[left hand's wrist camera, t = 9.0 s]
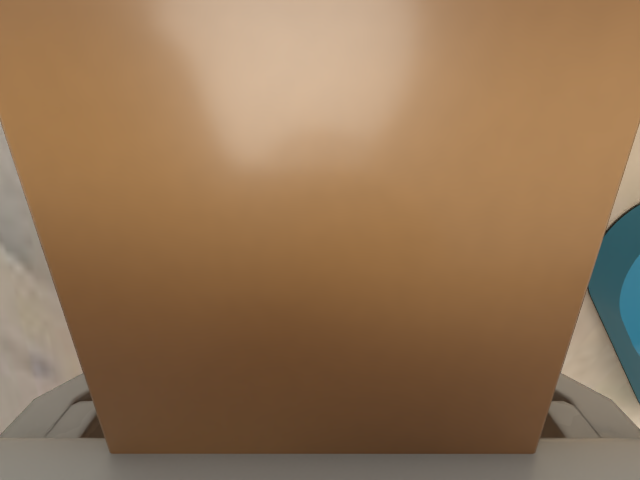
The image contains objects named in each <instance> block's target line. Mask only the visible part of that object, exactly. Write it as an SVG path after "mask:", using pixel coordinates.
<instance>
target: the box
mask: <svg viewBox="0 0 640 480" xmlns="http://www.w3.org/2000/svg"><path fill="white" fill-rule="evenodd" d="M0 122H1V125H2V128H3V131H4V134H5V137H6V140H7V143H8V146H9V149H10V152H11V155H12V158H13V161H14V164H15V167H16V170H17V173H18V176H19V179H20V182H21V185H22V188H23V191H24V194H25V197H26V200H27V203H28V207H29V210H30V213H31V216H32V219H33V222H34V225H35V228H36V231H37V234H38V237H39V240H40V243H41V246H42V249H43V252H44V255H45V258H46V261H47V264H48V267H49V270H50V273H51V276H52V279H53V282H54V285H55V288H56V292H57V295H58V298H59V301H60V304H61V307H62V310H63V313H64V316H65V319H66V322H67V325H68V328H69V331H70V334H71V337H72V340H73V343H74V346H75V349H76V352H77V355H78V358H79V361H80V364H81V367H82V370H83V374H84V377H85V380H86V383H87V386H88V389H89V392H90V395H91V398H92V401H93V404H94V407H95V410H96V413H97V416H98V419H99V422H100V425H101V428H102V431H103V434H104V437H105V440H106V443H107V446H108V449H109V452H110V453H111V454H534V453H535V452H536V449H537V446H538V443H539V440H540V436H541V433H542V430H543V427H544V424H545V421H546V417H547V414H548V411H549V408H550V405H551V402H552V398H553V395H554V392H555V389H556V386H557V383H558V379H559V376H560V373H561V370H562V367H563V364H564V360H565V357H566V354H567V351H568V348H569V345H570V341H571V338H572V335H573V332H574V329H575V326H576V323H577V319H578V316H579V313H580V310H581V307H582V304H583V300H584V297H585V294H586V291H587V288H588V285H589V281H590V278H591V275H592V272H593V269H594V266H595V262H596V259H597V256H598V253H599V250H600V247H601V243H602V240H603V237H604V234H605V231H606V228H607V224H608V221H609V218H610V215H611V212H612V209H613V205H614V202H615V199H616V196H617V193H618V190H619V186H620V183H621V180H622V177H623V174H624V171H625V167H626V164H627V161H628V158H629V155H630V152H631V148H632V145H633V142H634V139H635V136H636V133H637V129H638V126H639V123H640V0H0Z"/></svg>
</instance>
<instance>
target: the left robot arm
mask: <svg viewBox="0 0 640 480" xmlns="http://www.w3.org/2000/svg"><path fill="white" fill-rule="evenodd" d="M0 480H640V429H639V428H638V427H637V426H636V425H635V424H634V423H633V422H632V421H631V420H630V419H629V418H628V416H627V415H626V414H625V413H624V412H623V411H622V410H621V409H620V408H619V407H618V406H617V405H616V404H615V403H614V402H613V401H612V400H611V399H609V398H607V397H605V396H603V395H601V394H599V393H598V392H596V391H594V390H592V389H590V388H588V387H586V386H584V385H583V384H581V383H579V382H577V381H575V380H573V379H571V378H569V377H568V376H566V375H564V374H562V373H560V376H559V379H558V383H557V386H556V389H555V392H554V395H553V398H552V402H551V405H550V408H549V411H548V414H547V417H546V421H545V424H544V427H543V430H542V433H541V436H540V440H539V443H538V446H537V449H536V452H535V453H534V454H111V453H110V452H109V449H108V446H107V443H106V440H105V437H104V434H103V431H102V428H101V425H100V422H99V419H98V416H97V413H96V410H95V407H94V404H93V401H92V398H91V395H90V392H89V389H88V386H87V383H86V380H85V377H84V374H83V373H82V374H81V375H79V376H77V377H75V378H73V379H71V380H69V381H67V382H66V383H64V384H62V385H60V386H58V387H56V388H54V389H53V390H51V391H49V392H47V393H45V394H43V395H41V396H39V397H38V398H36V399H34V400H33V401H32V402H31V403H30V404H29V405H28V406H27V407H26V408H25V409H24V410H23V412H22V413H21V414H20V415H19V416H18V417H17V418H16V419H15V420H14V421H13V422H12V423H11V424H10V425H9V426H8V427H7V428H6V429H5V431H4V432H3V433H2V434H1V435H0Z"/></svg>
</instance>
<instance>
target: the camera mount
mask: <svg viewBox="0 0 640 480" xmlns="http://www.w3.org/2000/svg"><path fill="white" fill-rule="evenodd" d="M588 287H589V292H590V295H591V298H592V300H593V302H594V304H595V307H596V309H597V311H598V313H599V315H600V318H601V320H602V322H603V324H604V326H605V329H606V331H607V333H608V335H609V337H610V340H611V342H612V344H613V346H614V348H615V351H616V353H617V355H618V357H619V359H620V362H621V364H622V366H623V368H624V371H625V373H626V375H627V377H628V379H629V382H630V384H631V386H632V388H633V390H634V393H635V395H636V397H637V399H638V401H639V404H640V205H638V206H637V207H635V208H634V209H632V210H631V211H629V212H628V213H627V214H626V215H624V216H623V217H622V218H621V219H620V220H619V221H617V222H616V223H615V224H614V225H613V226H612V228H611V229H610V230H609V231H608V232H607V233H606V235H605V236H604V237H603V240H602V243H601V247H600V250H599V253H598V256H597V259H596V262H595V266H594V269H593V272H592V275H591V278H590V281H589V285H588Z"/></svg>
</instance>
